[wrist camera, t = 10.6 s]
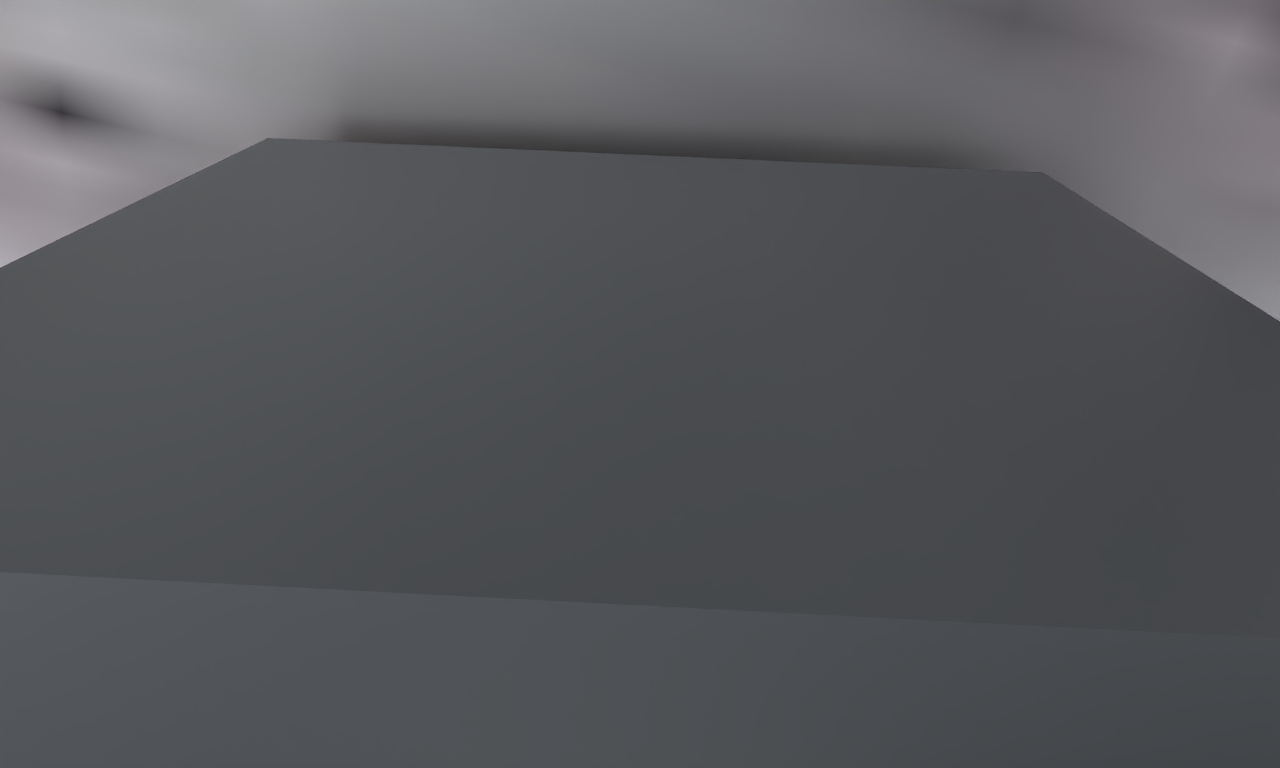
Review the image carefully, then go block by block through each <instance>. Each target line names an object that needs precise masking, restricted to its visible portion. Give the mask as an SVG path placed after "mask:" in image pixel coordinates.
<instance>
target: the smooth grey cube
mask: <svg viewBox="0 0 1280 768" xmlns="http://www.w3.org/2000/svg"><path fill="white" fill-rule="evenodd" d="M0 768H1280V321H1278V320H1276V319H1275V318H1273V317H1272V316H1270V315H1268V314H1267V313H1265V312H1264V311H1262V310H1261V309H1259V308H1257V307H1256V306H1254V305H1253V304H1251V303H1249V302H1248V301H1246V300H1245V299H1243V298H1241V297H1240V296H1238V295H1237V294H1235V293H1233V292H1232V291H1230V290H1229V289H1227V288H1226V287H1224V286H1222V285H1221V284H1219V283H1218V282H1216V281H1214V280H1213V279H1211V278H1210V277H1208V276H1206V275H1205V274H1203V273H1202V272H1200V271H1198V270H1197V269H1195V268H1194V267H1192V266H1191V265H1189V264H1187V263H1186V262H1184V261H1183V260H1181V259H1179V258H1178V257H1176V256H1175V255H1173V254H1171V253H1170V252H1168V251H1167V250H1165V249H1163V248H1162V247H1160V246H1159V245H1157V244H1155V243H1154V242H1152V241H1151V240H1149V239H1148V238H1146V237H1144V236H1143V235H1141V234H1140V233H1138V232H1136V231H1135V230H1133V229H1132V228H1130V227H1128V226H1127V225H1125V224H1124V223H1122V222H1120V221H1119V220H1117V219H1116V218H1114V217H1113V216H1111V215H1109V214H1108V213H1106V212H1105V211H1103V210H1101V209H1100V208H1098V207H1097V206H1095V205H1093V204H1092V203H1090V202H1089V201H1087V200H1085V199H1084V198H1082V197H1081V196H1079V195H1077V194H1076V193H1074V192H1073V191H1071V190H1070V189H1068V188H1066V187H1065V186H1063V185H1062V184H1060V183H1058V182H1057V181H1055V180H1054V179H1052V178H1050V177H1049V176H1047V175H1046V174H1044V173H1040V172H1018V171H995V170H973V169H950V168H928V167H905V166H882V165H860V164H837V163H815V162H792V161H770V160H747V159H725V158H702V157H679V156H657V155H634V154H612V153H589V152H567V151H544V150H522V149H499V148H476V147H454V146H431V145H409V144H386V143H364V142H341V141H319V140H296V139H273V138H267V139H265V140H263V141H261V142H259V143H257V144H255V145H253V146H251V147H249V148H247V149H245V150H243V151H240V152H238V153H236V154H234V155H232V156H230V157H228V158H226V159H224V160H222V161H220V162H218V163H216V164H214V165H212V166H210V167H207V168H205V169H203V170H201V171H199V172H197V173H195V174H193V175H191V176H189V177H187V178H185V179H183V180H181V181H179V182H176V183H174V184H172V185H170V186H168V187H166V188H164V189H162V190H160V191H158V192H156V193H154V194H152V195H150V196H148V197H146V198H143V199H141V200H139V201H137V202H135V203H133V204H131V205H129V206H127V207H125V208H123V209H121V210H119V211H117V212H115V213H112V214H110V215H108V216H106V217H104V218H102V219H100V220H98V221H96V222H94V223H92V224H90V225H88V226H86V227H84V228H82V229H79V230H77V231H75V232H73V233H71V234H69V235H67V236H65V237H63V238H61V239H59V240H57V241H55V242H53V243H51V244H48V245H46V246H44V247H42V248H40V249H38V250H36V251H34V252H32V253H30V254H28V255H26V256H24V257H22V258H20V259H18V260H15V261H13V262H11V263H9V264H7V265H5V266H3V267H1V268H0Z"/></svg>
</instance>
